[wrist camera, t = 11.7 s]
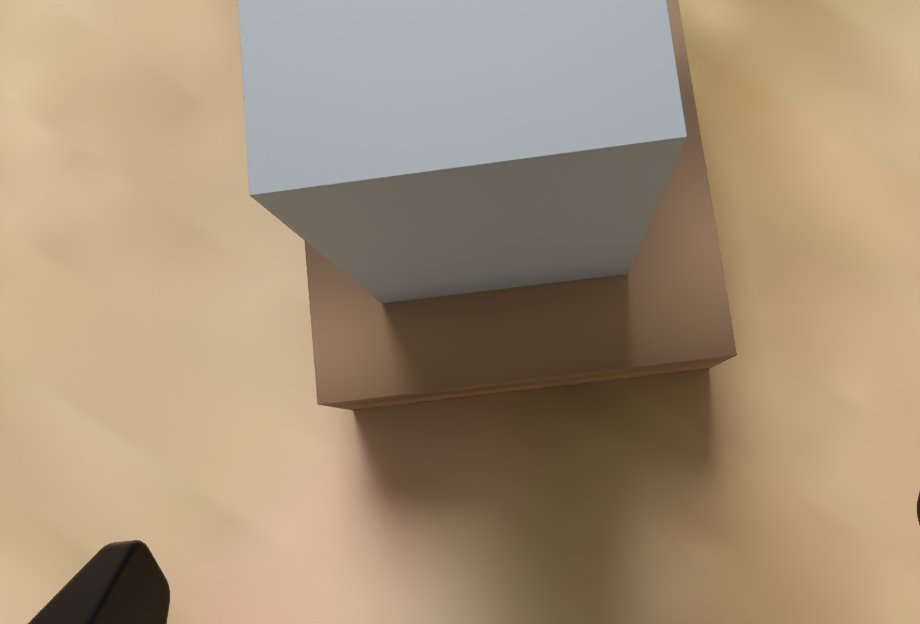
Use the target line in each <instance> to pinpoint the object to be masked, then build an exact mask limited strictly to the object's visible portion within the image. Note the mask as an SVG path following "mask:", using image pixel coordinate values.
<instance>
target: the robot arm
mask: <svg viewBox="0 0 920 624" xmlns="http://www.w3.org/2000/svg"><path fill="white" fill-rule="evenodd" d="M917 516H918V521H919V524H920V492H919V497H918V501H917ZM169 604H170V590H169V585H168V582H167V579H166V578H165V576H164V574H163V572H162V571H161V569H160V567H159V566H158V564H157V562H156V560H155V559H154V557H153V555H152V553H151V552H150V550H149V548H148V547H147V545H146V544H145V543H143V542H142V541H139V540H133V541H123V542H114V543H110V544H108V545H106V546H104V547H103V548H102V549H101V550H100V551H99V552H98V553H97V554H96V555H95V556H94V557H93V558H92V559H91V560H90V561H89V562H88V563H87V564H86V565H85V566H84V567H83V568H82V569H81V570H80V571H79V572H78V573H77V574H76V575H75V576H74V577H73V578H72V579H71V580H70V581H69V582H68V583H67V584H66V585H65V586H64V587H63V588H62V589H61V590H60V591H59V592H58V593H57V594H56V595H55V596H54V597H53V599H52V600H51V601H50V602H49V603H48V604H47V605H46V606H45V607H44V608H43V609H42V610H41V611H40V612H39V613H38V614H37V615H36V616H35V617H34V618H33V619H32V620H31V621H30V622H29V623H28V624H167V617H168V610H169Z"/></svg>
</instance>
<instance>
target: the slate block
mask: <svg viewBox="0 0 920 624" xmlns="http://www.w3.org/2000/svg"><path fill="white" fill-rule="evenodd" d="M238 6H239V23H240V40H241V57H242V74H243V91H244V108H245V125H246V142H247V159H248V176H249V193H250V196H251V197H253V198H254V199H255V200H256V201H257V202H259V203H260V204H261V205H262V206H264V207H265V208H266V209H267V210H268V211H270V212H271V213H272V214H273V215H275V216H276V217H277V218H278V219H279V220H281V221H282V222H283V223H284V224H285V225H287V226H288V227H289V228H290V229H292V230H293V231H294V232H295V233H296V234H298V235H299V236H300V237H301V238H303V239H304V240H305V241H306V242H307V243H309V244H310V245H311V246H312V247H314V248H315V249H316V250H317V251H318V252H320V253H321V254H322V255H323V256H325V257H326V258H327V259H328V260H329V261H331V262H332V263H333V264H334V265H336V266H337V267H338V268H339V269H340V270H342V271H343V272H344V273H345V274H347V275H348V276H349V277H350V278H351V279H353V280H354V281H355V282H356V283H358V284H359V285H360V286H361V287H362V288H364V289H365V290H366V291H367V292H368V293H370V294H371V295H372V296H373V297H375V298H376V299H377V300H378V301H379V302H381V303H389V302H397V301H406V300H414V299H423V298H431V297H439V296H448V295H456V294H465V293H473V292H481V291H490V290H498V289H507V288H515V287H523V286H532V285H540V284H548V283H557V282H565V281H574V280H582V279H590V278H599V277H607V276H616V275H624V274H628V273H629V271H630V268H631V266H632V264H633V261H634V259H635V257H636V254H637V252H638V250H639V247H640V245H641V243H642V240H643V238H644V236H645V233H646V231H647V229H648V226H649V224H650V222H651V219H652V217H653V215H654V212H655V210H656V208H657V205H658V203H659V201H660V198H661V196H662V194H663V191H664V189H665V187H666V184H667V182H668V180H669V177H670V175H671V173H672V170H673V168H674V166H675V163H676V161H677V159H678V156H679V154H680V152H681V149H682V147H683V144H684V142H685V140H686V137H687V134H686V128H685V121H684V115H683V108H682V102H681V95H680V88H679V82H678V75H677V69H676V62H675V56H674V49H673V43H672V36H671V30H670V23H669V17H668V10H667V4H666V0H238Z"/></svg>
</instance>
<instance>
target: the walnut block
mask: <svg viewBox="0 0 920 624" xmlns="http://www.w3.org/2000/svg"><path fill="white" fill-rule="evenodd" d="M666 4H667V10H668V17H669V23H670V30H671V36H672V43H673V49H674V56H675V62H676V69H677V75H678V82H679V88H680V95H681V102H682V108H683V115H684V121H685V128H686V134H687V137H686V140H685V142H684V144H683V147H682V149H681V152H680V154H679V156H678V159H677V161H676V163H675V166H674V168H673V170H672V173H671V175H670V177H669V180H668V182H667V184H666V187H665V189H664V191H663V194H662V196H661V198H660V201H659V203H658V205H657V208H656V210H655V212H654V215H653V217H652V219H651V222H650V224H649V226H648V229H647V231H646V233H645V236H644V238H643V240H642V243H641V245H640V247H639V250H638V252H637V254H636V257H635V259H634V261H633V264H632V266H631V268H630V271H629V273H628V274H624V275H616V276H607V277H599V278H590V279H582V280H574V281H565V282H557V283H548V284H540V285H532V286H523V287H515V288H507V289H498V290H490V291H481V292H473V293H465V294H456V295H448V296H439V297H431V298H423V299H414V300H406V301H397V302H389V303H381V302H379V301H378V300H377V299H376V298H375V297H373V296H372V295H371V294H370V293H368V292H367V291H366V290H365V289H364V288H362V287H361V286H360V285H359V284H358V283H356V282H355V281H354V280H353V279H351V278H350V277H349V276H348V275H347V274H345V273H344V272H343V271H342V270H340V269H339V268H338V267H337V266H336V265H334V264H333V263H332V262H331V261H329V260H328V259H327V258H326V257H325V256H323V255H322V254H321V253H320V252H318V251H317V250H316V249H315V248H314V247H312V246H311V245H310V244H309V243H307V242H306V241H305V251H306V263H307V276H308V289H309V301H310V314H311V326H312V339H313V351H314V364H315V377H316V389H317V402H318V405H324V406H330V407H337V408H343V409H349V410H358V409H367V408H375V407H384V406H393V405H401V404H410V403H418V402H427V401H435V400H444V399H453V398H461V397H470V396H478V395H487V394H495V393H504V392H512V391H521V390H530V389H538V388H547V387H555V386H564V385H572V384H581V383H590V382H598V381H607V380H615V379H624V378H632V377H641V376H650V375H658V374H667V373H675V372H684V371H692V370H701V369H709V368H711V367H713V366H715V365H717V364H719V363H721V362H723V361H725V360H728V359H730V358H732V357H734V356H736V355H737V353H736V347H735V341H734V335H733V329H732V323H731V317H730V311H729V305H728V299H727V293H726V287H725V281H724V275H723V269H722V263H721V257H720V251H719V245H718V239H717V233H716V226H715V220H714V214H713V208H712V202H711V196H710V190H709V184H708V178H707V172H706V166H705V160H704V154H703V148H702V142H701V136H700V130H699V124H698V118H697V112H696V106H695V100H694V94H693V88H692V82H691V76H690V70H689V64H688V58H687V52H686V46H685V40H684V34H683V28H682V21H681V15H680V9H679V3H678V0H666Z"/></svg>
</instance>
